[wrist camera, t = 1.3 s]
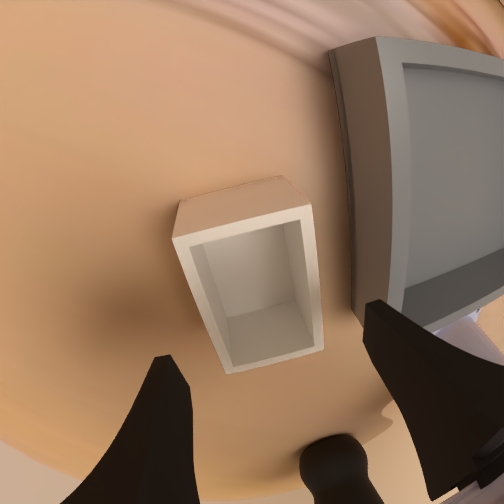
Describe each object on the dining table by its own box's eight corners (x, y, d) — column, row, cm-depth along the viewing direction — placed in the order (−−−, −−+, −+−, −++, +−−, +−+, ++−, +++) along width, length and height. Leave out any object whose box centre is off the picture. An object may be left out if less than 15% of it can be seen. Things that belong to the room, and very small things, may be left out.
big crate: (508, 246, 20) (539, 270, 16) (351, 308, 19) (379, 355, 16) (519, 74, 12) (561, 82, 8) (327, 50, 12) (375, 36, 8)
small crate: (300, 298, 19) (324, 349, 15) (220, 319, 18) (226, 374, 14) (281, 174, 15) (311, 203, 11) (180, 199, 14) (171, 238, 11)
